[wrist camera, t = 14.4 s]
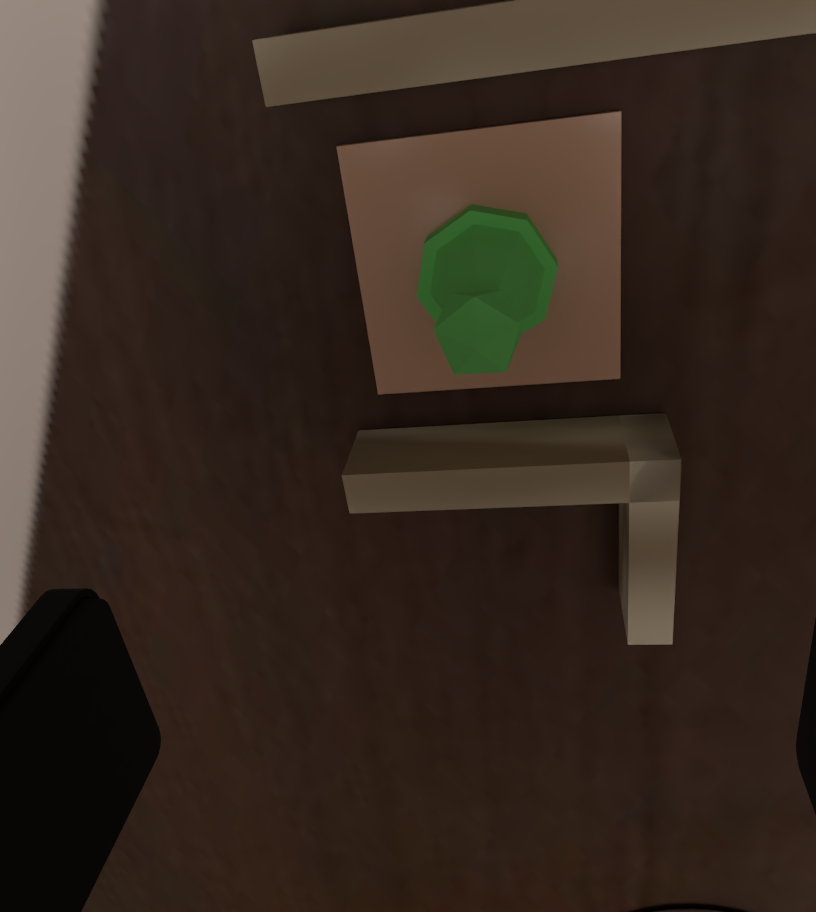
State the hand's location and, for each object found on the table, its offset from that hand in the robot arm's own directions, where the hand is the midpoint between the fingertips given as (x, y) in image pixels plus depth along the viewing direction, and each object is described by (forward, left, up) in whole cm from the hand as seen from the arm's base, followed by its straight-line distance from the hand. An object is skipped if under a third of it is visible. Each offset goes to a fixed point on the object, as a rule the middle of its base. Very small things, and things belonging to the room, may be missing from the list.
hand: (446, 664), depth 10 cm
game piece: (0, 0, -16) cm, 16 cm away
